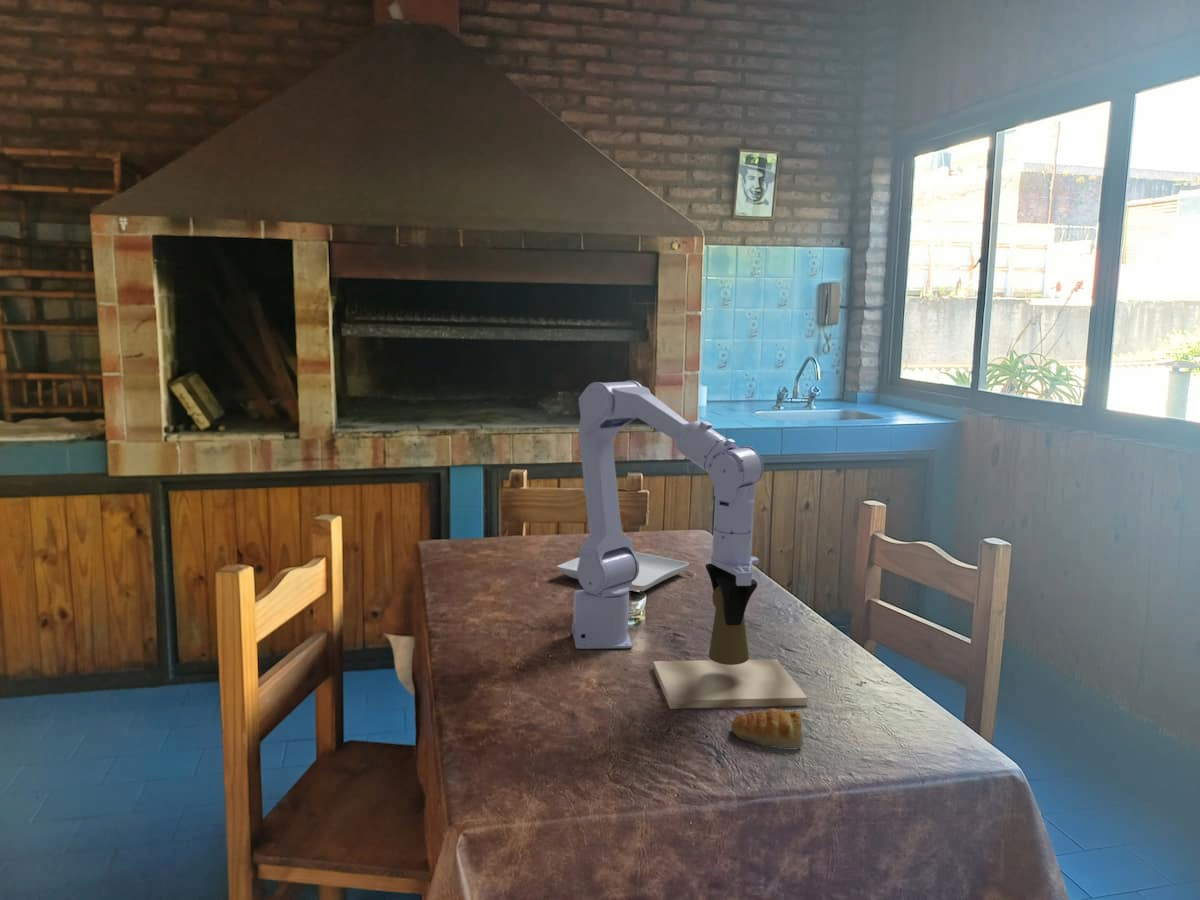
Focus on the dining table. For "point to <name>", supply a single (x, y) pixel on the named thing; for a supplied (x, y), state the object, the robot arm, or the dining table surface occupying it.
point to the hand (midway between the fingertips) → (728, 617)
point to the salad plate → (649, 569)
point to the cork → (727, 637)
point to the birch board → (727, 684)
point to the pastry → (770, 728)
